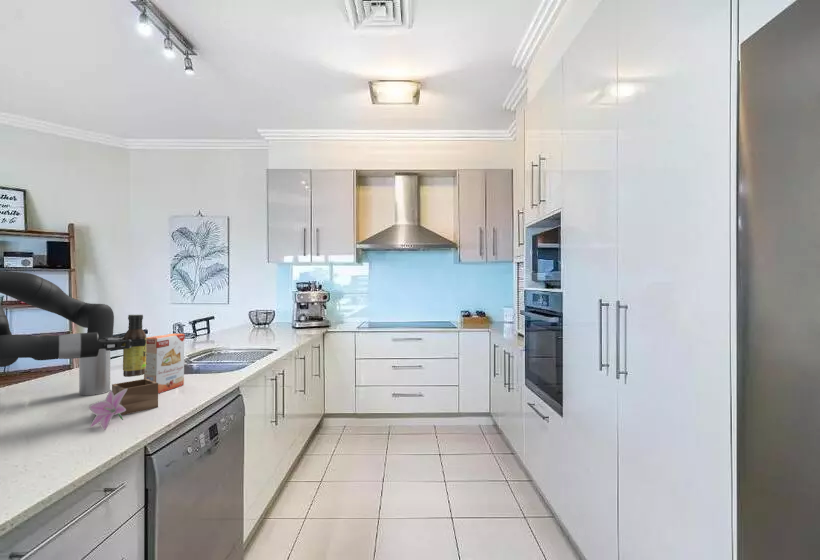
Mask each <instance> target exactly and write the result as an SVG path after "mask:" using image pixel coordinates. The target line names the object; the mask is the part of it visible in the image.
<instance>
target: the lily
mask: <svg viewBox="0 0 820 560" xmlns="http://www.w3.org/2000/svg"><path fill="white" fill-rule="evenodd" d="M126 391H127V389H124V390H122V391H120V392H118V393H117V394H115V395H114V394H113V392H112V389H110V391H108V392H107V394H106V397H105V399H104V400H102V401H101V400H100V401H98V402H95V403H92V404H91V405H89V406H88V409H89V410H90V412H91V413H92V414H94V415H96V416H95V417H94V419H93V421H92V422H91V424H90V426H89V427H90V428H93V427H94V426H96V425H97V424H100V426H101V428H102V430H103V431H107V429H108V427H109V425H110V423H111V420H112V418H113V417H114V416H115V415H118V416H119V417H120V419H121V420H122V421H123V420H124V419H123V417H122V416H121V414H120V413H122V412H125V411H126V409H125V408H124V407H123V406H122V405H120V404H119V403H120V401H121V399H122V398H123V396H124V395H125V393H126Z"/></svg>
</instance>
